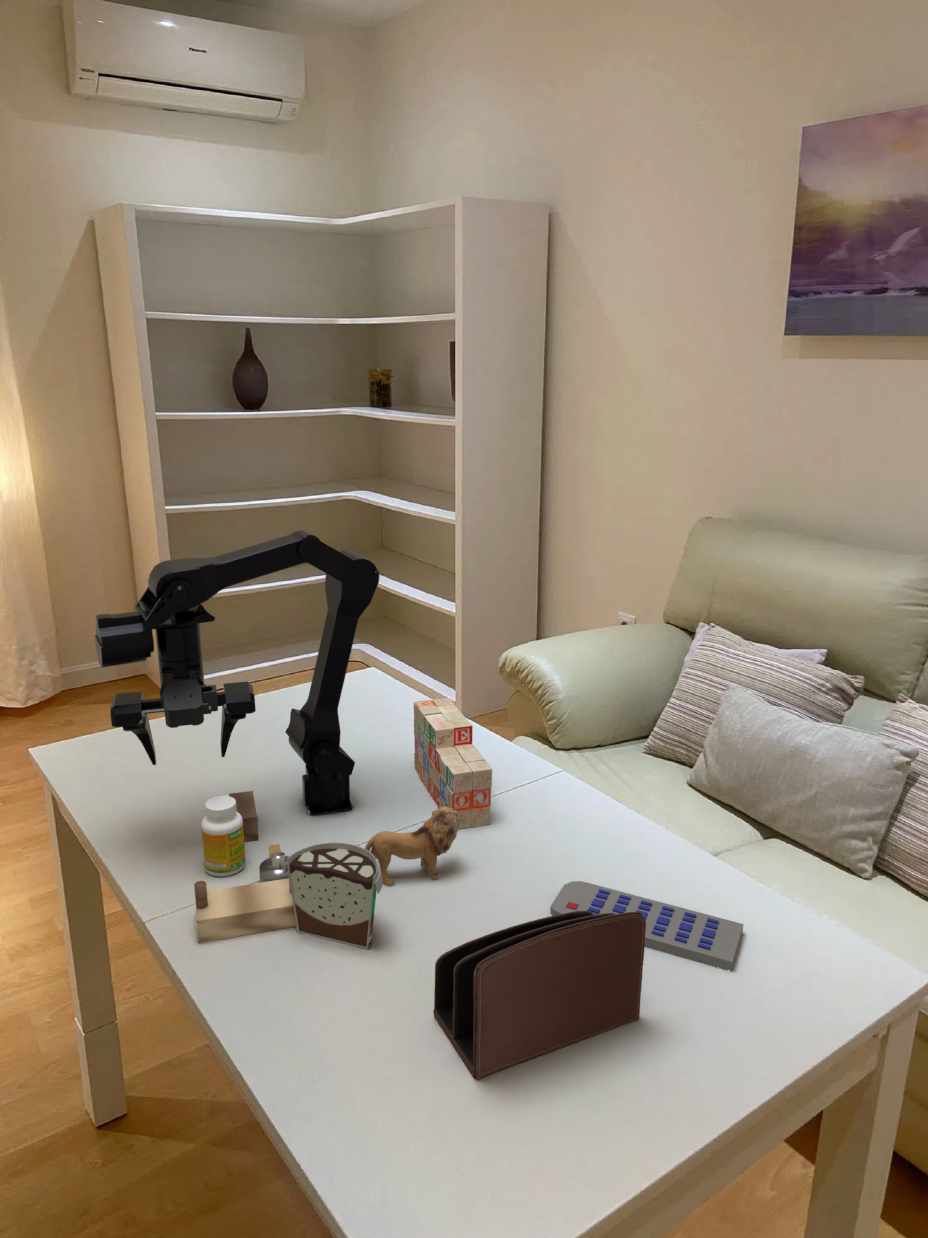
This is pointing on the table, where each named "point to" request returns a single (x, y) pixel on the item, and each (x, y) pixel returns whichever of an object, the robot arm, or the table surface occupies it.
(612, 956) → the letter holder
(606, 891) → the remote control
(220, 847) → the supplement bottle
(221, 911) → the peg stand
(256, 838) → the tall brown cuboid
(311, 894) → the food container
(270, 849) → the door lever handle
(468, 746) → the stack of blocks
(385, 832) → the lion figurine
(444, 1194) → the table surface
